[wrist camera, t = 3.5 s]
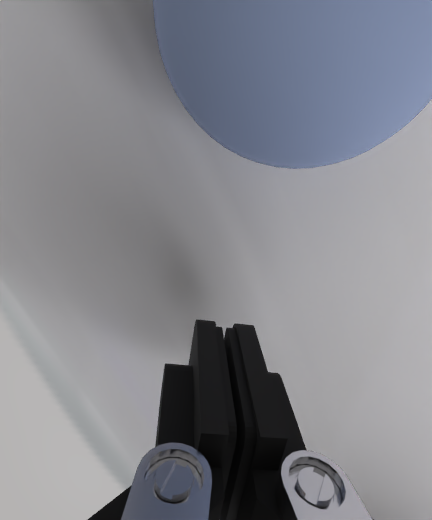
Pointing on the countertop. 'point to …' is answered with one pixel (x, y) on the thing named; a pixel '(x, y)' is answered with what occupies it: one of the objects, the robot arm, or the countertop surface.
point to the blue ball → (298, 73)
